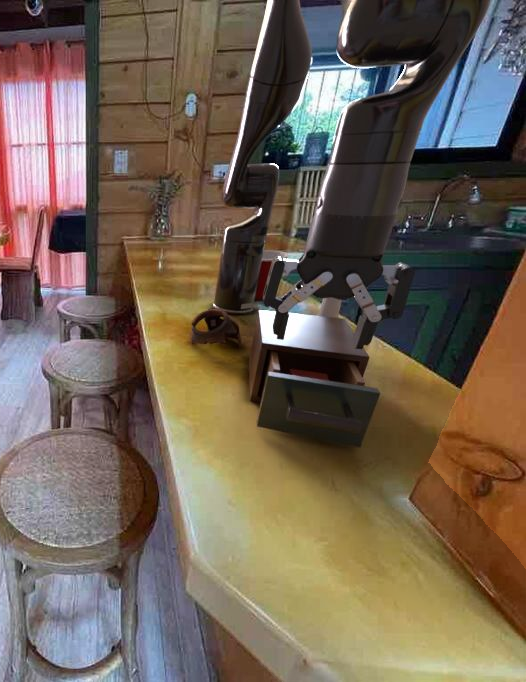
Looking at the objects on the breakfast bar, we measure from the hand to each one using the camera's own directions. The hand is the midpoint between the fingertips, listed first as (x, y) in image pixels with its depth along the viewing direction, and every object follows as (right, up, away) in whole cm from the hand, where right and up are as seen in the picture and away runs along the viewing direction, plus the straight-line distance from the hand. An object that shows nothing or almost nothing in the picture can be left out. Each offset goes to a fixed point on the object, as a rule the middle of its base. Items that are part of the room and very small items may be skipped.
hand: (316, 341), depth 48 cm
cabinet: (+5, -7, +13) cm, 16 cm away
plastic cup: (+20, +12, +55) cm, 60 cm away
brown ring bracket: (-2, 0, +29) cm, 29 cm away
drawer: (+1, -11, +4) cm, 11 cm away
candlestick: (+16, -2, +25) cm, 30 cm away
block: (+1, -9, +4) cm, 10 cm away
